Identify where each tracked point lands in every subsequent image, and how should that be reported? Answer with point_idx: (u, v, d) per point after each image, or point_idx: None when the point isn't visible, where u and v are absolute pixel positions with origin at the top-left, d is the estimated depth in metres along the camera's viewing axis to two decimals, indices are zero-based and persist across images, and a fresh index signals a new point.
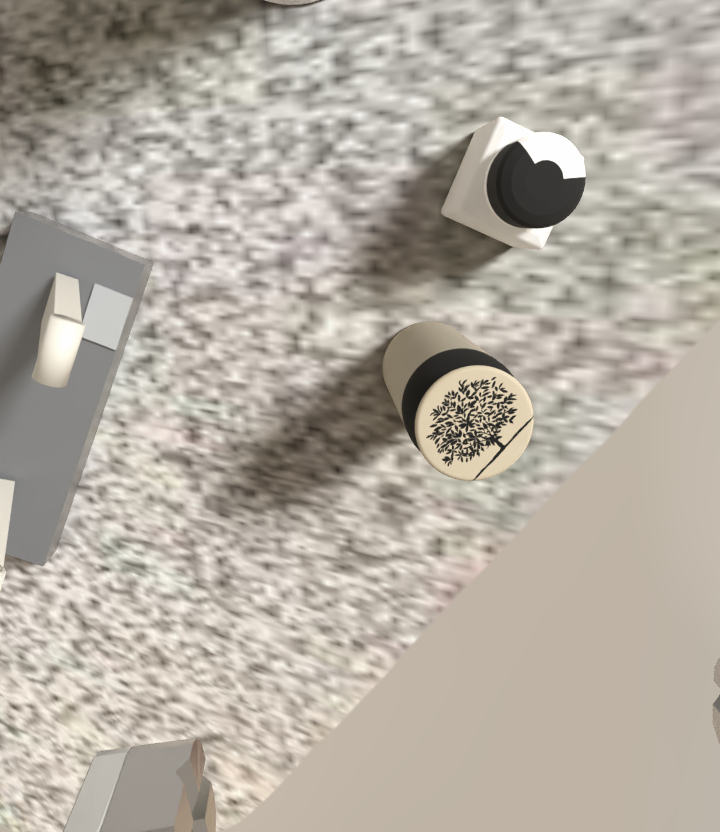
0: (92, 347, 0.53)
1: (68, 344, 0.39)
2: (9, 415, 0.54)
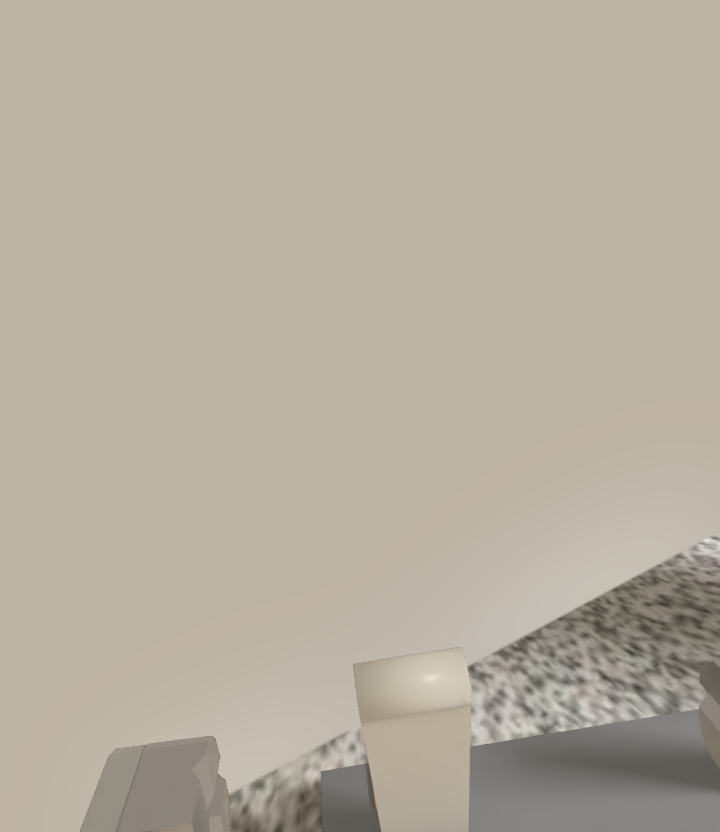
0: None
1: None
2: (562, 791, 0.33)
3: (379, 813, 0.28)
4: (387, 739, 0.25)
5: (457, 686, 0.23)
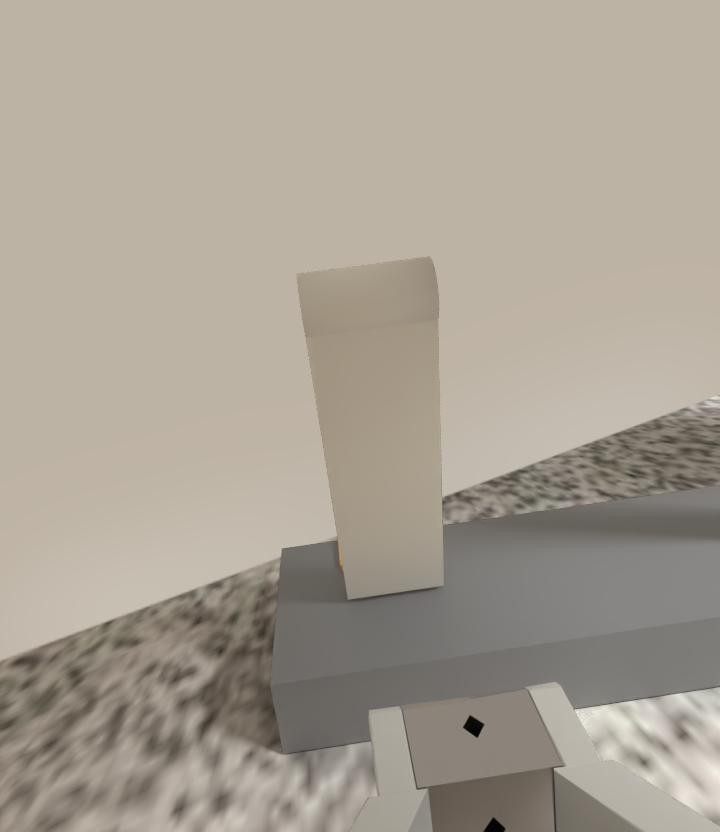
0: None
1: None
2: (553, 548, 0.29)
3: (336, 520, 0.24)
4: (339, 375, 0.20)
5: (420, 282, 0.19)
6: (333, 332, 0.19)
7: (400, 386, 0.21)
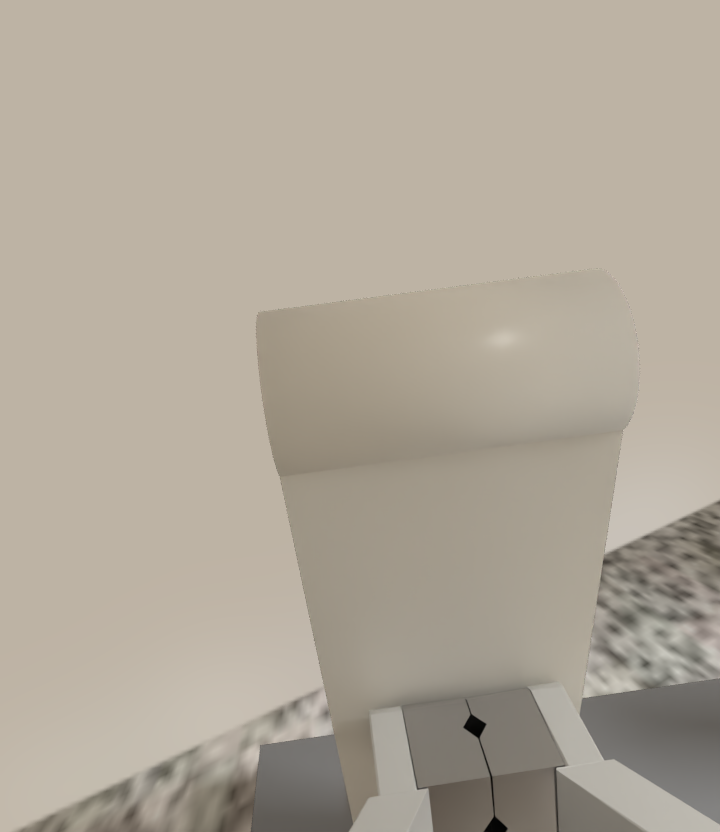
0: None
1: None
2: None
3: (354, 811, 0.12)
4: (366, 559, 0.08)
5: (591, 336, 0.07)
6: (352, 464, 0.07)
7: (510, 577, 0.09)
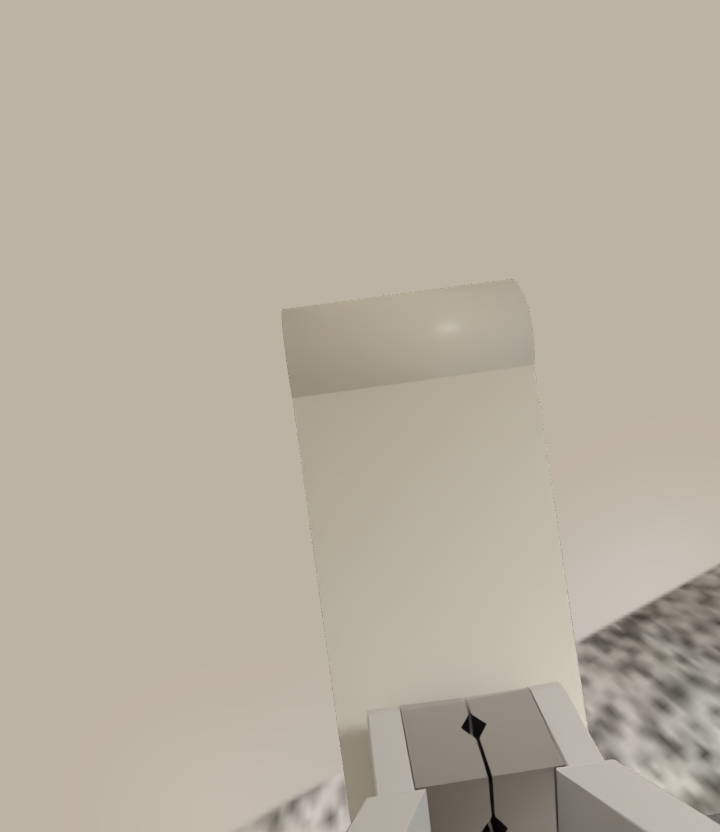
0: None
1: None
2: None
3: None
4: (357, 482, 0.11)
5: (494, 294, 0.11)
6: (343, 384, 0.11)
7: (478, 509, 0.11)
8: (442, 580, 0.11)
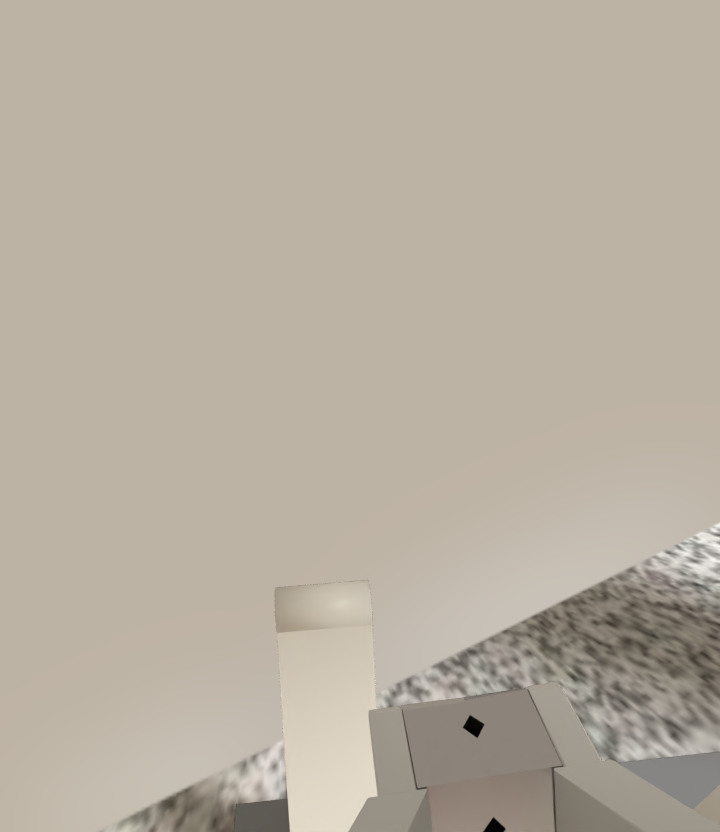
0: None
1: None
2: None
3: (289, 807, 0.28)
4: (299, 665, 0.28)
5: (359, 596, 0.28)
6: (297, 629, 0.27)
7: (345, 677, 0.28)
8: (329, 703, 0.28)
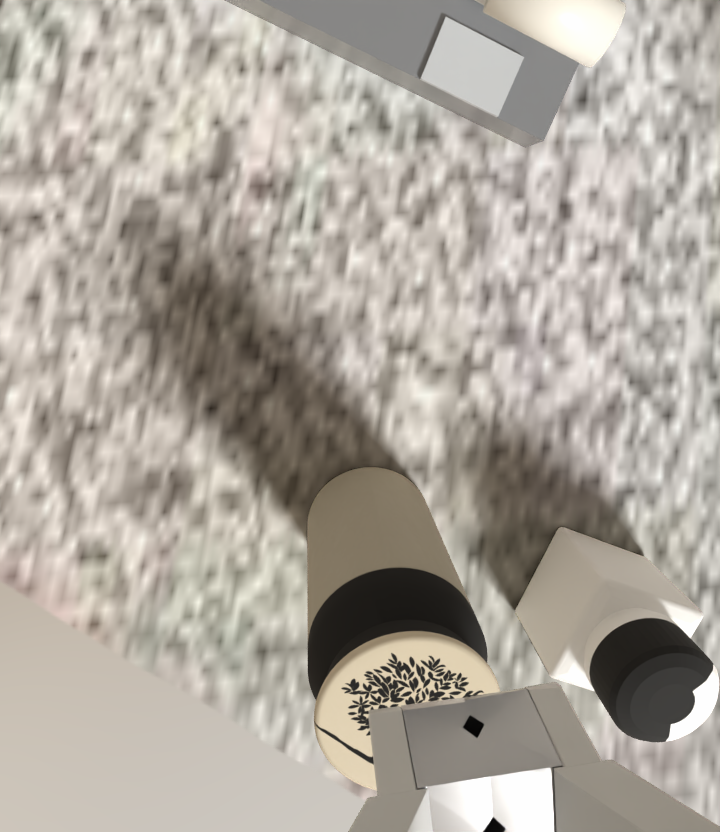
0: (424, 38, 0.33)
1: (575, 32, 0.21)
2: None
3: None
4: None
5: None
6: None
7: None
8: None
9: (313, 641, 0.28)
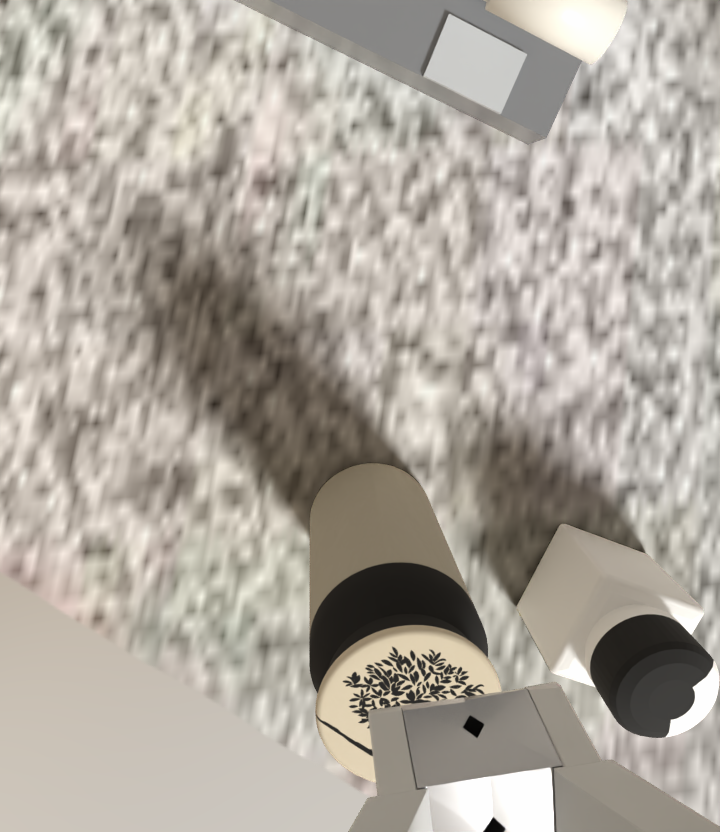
0: (427, 35, 0.33)
1: (577, 29, 0.21)
2: None
3: None
4: None
5: None
6: None
7: None
8: None
9: (315, 635, 0.29)
